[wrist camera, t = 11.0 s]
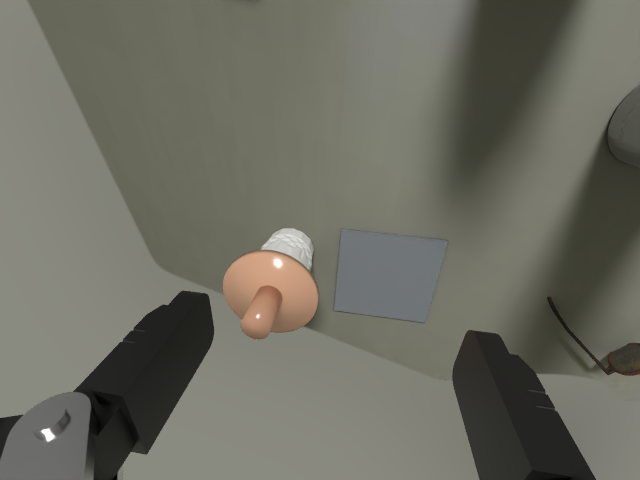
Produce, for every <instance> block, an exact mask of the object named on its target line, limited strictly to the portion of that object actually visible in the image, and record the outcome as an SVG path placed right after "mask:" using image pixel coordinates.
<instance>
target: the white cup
mask: <svg viewBox="0 0 640 480" xmlns="http://www.w3.org/2000/svg"><path fill="white" fill-rule="evenodd" d="M260 250H273V251H278V252H282V253H285V254H287V255H289V256H291V257H293V258H295V259H297V260H298V261H299V262H301V263H302V264H303V265H304V266H305V267H306V268H307V269H308V270H309V271H310V272H311V266H312V257H313V251H314V248H313V245H312V242H311V240H310V239H309V238H308V237H307V236H306V235H305V234H304V233H303V232H301V231H299V230H296V229H294V228H283V229H281V230H279V231H276V232H274V233H273V235H272V236H271V238H270V239H269V240H268V241H267V242H266V243H265V244H264V245H263V246H262V247H261V249H260Z"/></svg>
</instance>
